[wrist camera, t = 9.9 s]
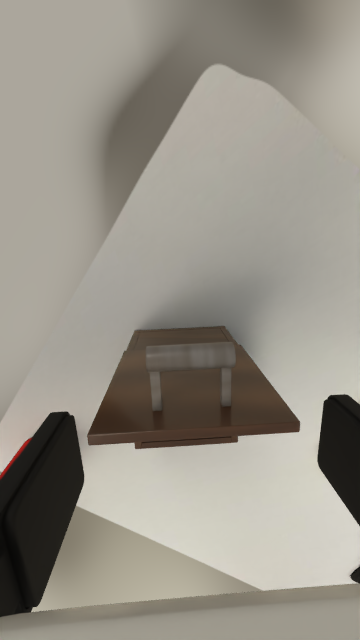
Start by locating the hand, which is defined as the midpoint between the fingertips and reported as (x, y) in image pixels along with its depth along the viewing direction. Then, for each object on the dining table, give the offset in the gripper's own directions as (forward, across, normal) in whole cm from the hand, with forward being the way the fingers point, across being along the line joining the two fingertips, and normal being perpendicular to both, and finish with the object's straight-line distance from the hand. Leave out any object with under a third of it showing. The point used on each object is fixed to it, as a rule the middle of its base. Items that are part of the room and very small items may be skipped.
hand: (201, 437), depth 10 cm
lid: (+13, 0, +5) cm, 14 cm away
